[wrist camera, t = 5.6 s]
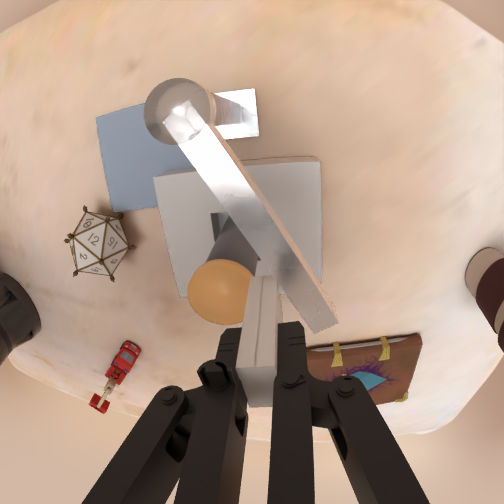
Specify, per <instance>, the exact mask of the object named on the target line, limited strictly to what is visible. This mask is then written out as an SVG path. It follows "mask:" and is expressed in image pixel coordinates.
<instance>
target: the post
mask: <svg viewBox="0 0 504 504" xmlns="http://www.w3.org/2000/svg"><path fill="white" fill-rule="evenodd" d="M211 94H212V95H213V97H214V99H215V102H216V117H215V121H214V123H213V124H214V125H215V126H216V128H217V129H218V131H219V132H220V133H221V135H222V136H223V138H224V139H233V138H242V137H253V136H260V135H259V125H258V115H257V105H256V96H255V89H246V90H238V91H230V92H222V93H215V94H213V93H211Z"/></svg>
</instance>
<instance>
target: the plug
mask: <svg viewBox="0 0 504 504" xmlns="http://www.w3.org/2000/svg"><path fill="white" fill-rule="evenodd" d="M257 260H258V255H257V253H256V252H255V250H254V249H253V248H252V246H251V245H250V243H249V242H248V241H247V239H246V238H245V236H244V235H243V234H242V232H241V231H240V230H239V228H238V227H237V225H236V224H235V223H234V221H233V220H232V218H231V217H230V216H228V218H227V220H226V222H225V224H224V226H223V228H222V230H221V232H220V234H219V236H218V238H217V240H216V242H215V244H214V246H213V248H212V250H211V252H210V254H209V256H208V258H207V260H206V262H205V263H204V264H202V265H201V266H199V267H198V268H197V269H196V271H195V272H194V274H193V276H192V278H191V280H190V282H189V284H188V288H187V295H188V300H189V302H190V305H191V306H192V308H193V309H194V310H195V312H196V313H197V314H199V315H200V316H201V317H202V318H204V319H206V320H208V321H210V322H212V323H216V324H221V325H232V324H237V323H240V322H242V321H243V319H244V313H245V307H246V301H247V295H248V289H249V283H250V277H255V273H256V266H257Z"/></svg>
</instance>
